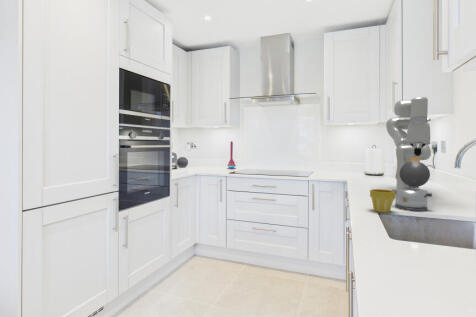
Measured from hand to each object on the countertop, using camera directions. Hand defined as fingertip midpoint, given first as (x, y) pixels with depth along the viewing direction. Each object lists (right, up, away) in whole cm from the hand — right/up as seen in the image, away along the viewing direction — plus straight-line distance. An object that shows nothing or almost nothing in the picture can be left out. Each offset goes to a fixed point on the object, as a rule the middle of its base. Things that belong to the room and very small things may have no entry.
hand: (417, 155), depth 142 cm
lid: (-5, -9, -5) cm, 12 cm away
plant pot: (-27, -26, -16) cm, 41 cm away
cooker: (-10, -26, -10) cm, 30 cm away
